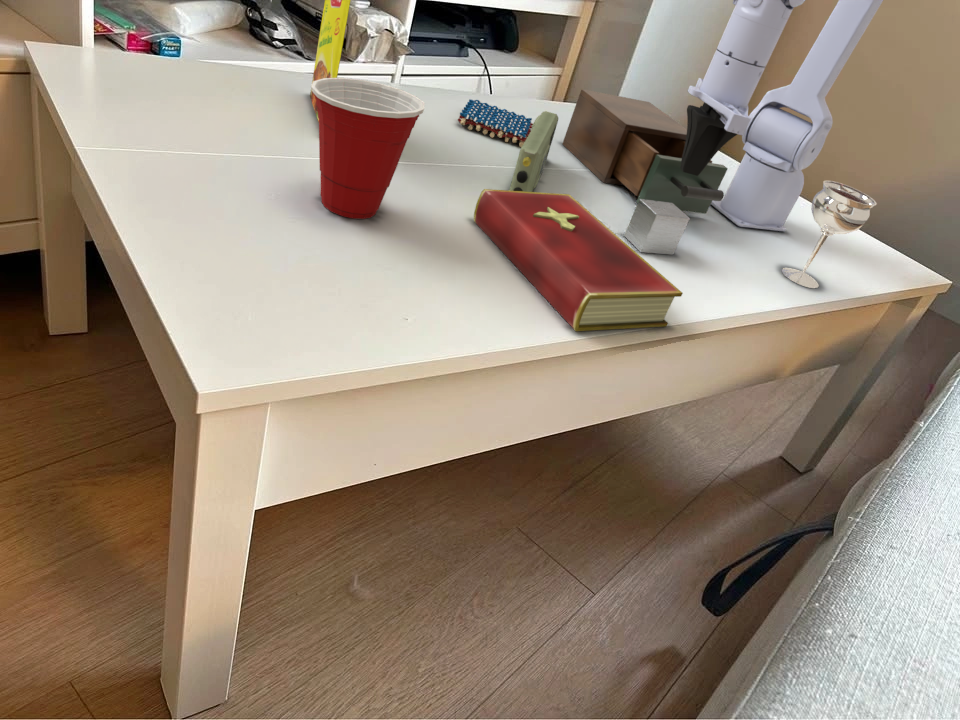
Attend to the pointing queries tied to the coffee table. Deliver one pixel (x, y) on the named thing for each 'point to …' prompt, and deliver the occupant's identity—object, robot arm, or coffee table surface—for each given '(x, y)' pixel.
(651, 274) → the hardcover book
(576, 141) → the cabinet
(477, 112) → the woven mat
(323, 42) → the food package
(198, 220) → the coffee table surface
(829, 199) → the wineglass
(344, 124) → the plastic cup
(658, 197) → the drawer
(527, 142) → the handheld radio
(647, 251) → the metal cube
